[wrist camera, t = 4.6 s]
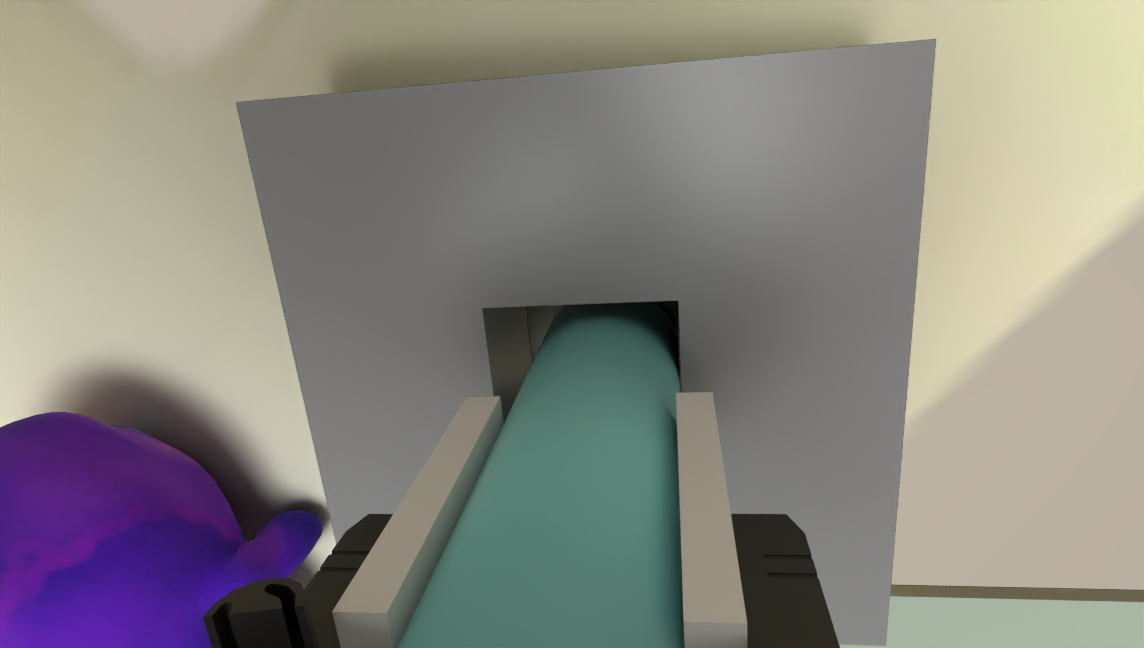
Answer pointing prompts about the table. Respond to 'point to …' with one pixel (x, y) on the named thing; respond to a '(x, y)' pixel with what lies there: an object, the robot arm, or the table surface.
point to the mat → (1013, 618)
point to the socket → (619, 267)
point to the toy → (121, 539)
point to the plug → (573, 500)
